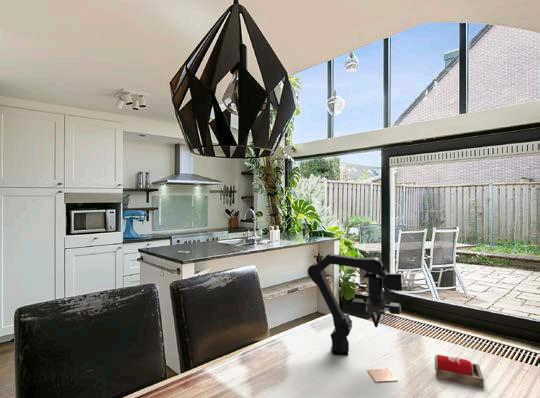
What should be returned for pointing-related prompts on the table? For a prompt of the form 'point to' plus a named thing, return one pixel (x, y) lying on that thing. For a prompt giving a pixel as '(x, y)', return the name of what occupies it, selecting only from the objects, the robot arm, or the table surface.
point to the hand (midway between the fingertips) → (376, 326)
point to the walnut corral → (463, 376)
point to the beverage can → (453, 364)
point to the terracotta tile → (382, 375)
